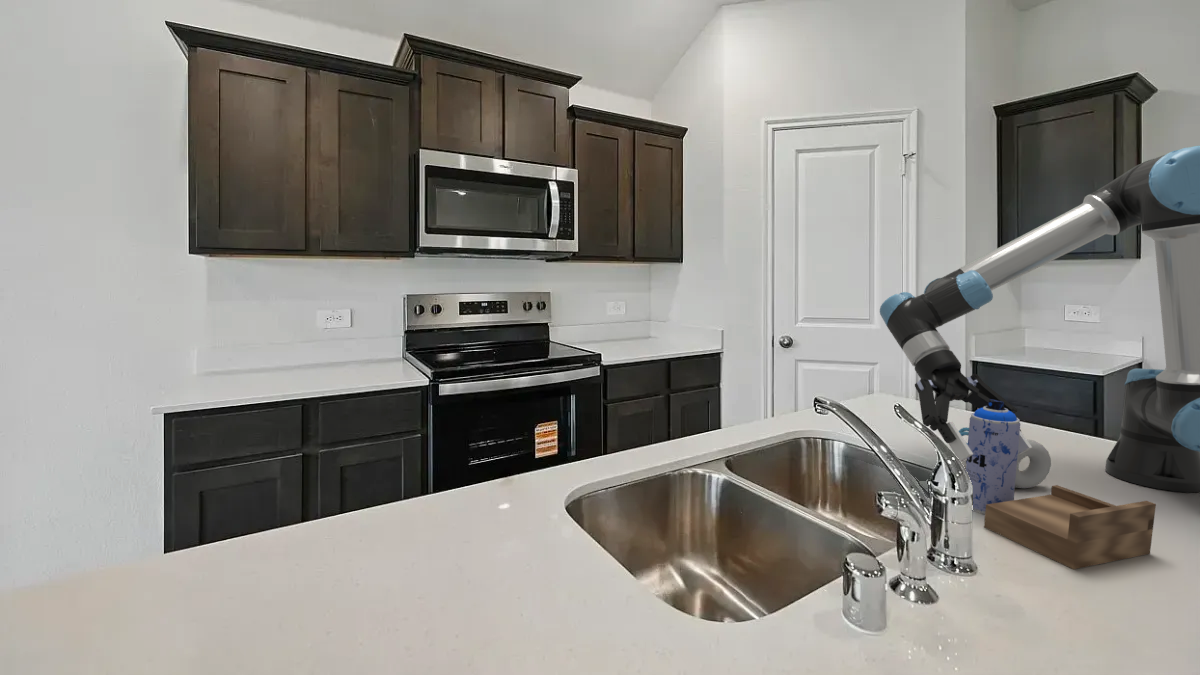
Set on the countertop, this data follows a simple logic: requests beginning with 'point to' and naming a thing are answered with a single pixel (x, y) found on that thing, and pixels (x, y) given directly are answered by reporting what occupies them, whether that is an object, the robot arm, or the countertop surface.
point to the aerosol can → (992, 454)
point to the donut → (1033, 466)
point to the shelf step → (1075, 527)
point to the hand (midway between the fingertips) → (996, 454)
